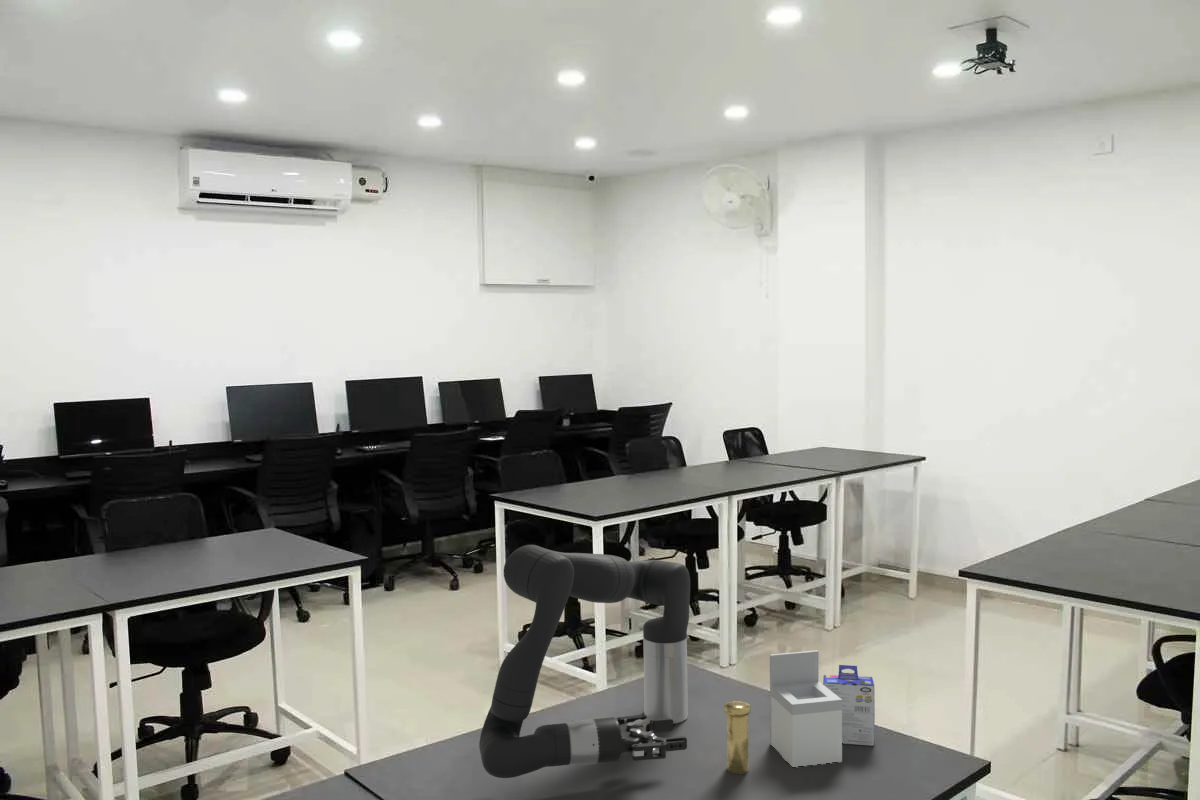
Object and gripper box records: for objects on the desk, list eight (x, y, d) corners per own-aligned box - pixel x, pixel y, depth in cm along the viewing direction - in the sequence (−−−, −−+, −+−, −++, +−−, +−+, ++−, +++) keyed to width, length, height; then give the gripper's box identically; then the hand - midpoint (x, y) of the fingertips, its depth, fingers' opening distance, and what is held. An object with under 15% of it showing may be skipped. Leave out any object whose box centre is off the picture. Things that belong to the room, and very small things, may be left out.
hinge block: (770, 744, 183) (769, 654, 182) (817, 739, 185) (817, 650, 184) (792, 767, 173) (792, 672, 172) (842, 762, 175) (842, 668, 174)
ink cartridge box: (873, 735, 187) (873, 664, 186) (875, 747, 181) (875, 674, 180) (822, 732, 189) (822, 662, 188) (823, 743, 183) (823, 671, 182)
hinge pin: (721, 764, 174) (720, 702, 174) (745, 762, 175) (744, 699, 175) (730, 776, 170) (729, 712, 169) (754, 773, 171) (754, 709, 170)
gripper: (600, 736, 159) (691, 727, 162) (584, 706, 173) (668, 698, 176) (601, 779, 159) (691, 770, 163) (584, 745, 173) (668, 737, 177)
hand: (679, 733), depth 170 cm, fingers open, 8 cm apart
